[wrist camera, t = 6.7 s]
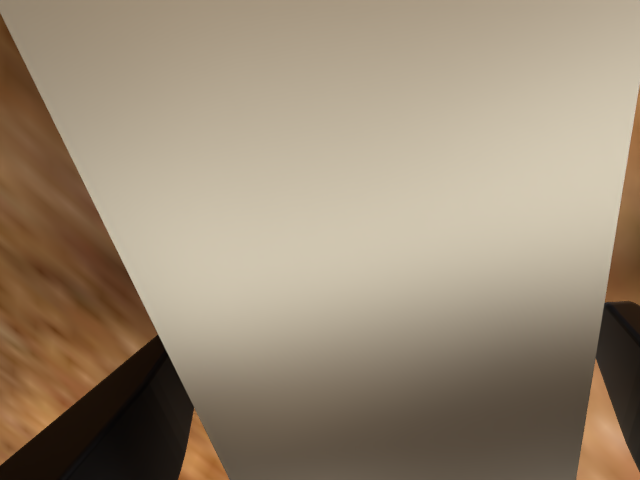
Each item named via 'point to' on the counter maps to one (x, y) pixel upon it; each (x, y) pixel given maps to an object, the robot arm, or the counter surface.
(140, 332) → the counter surface
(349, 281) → the beige marbled block
